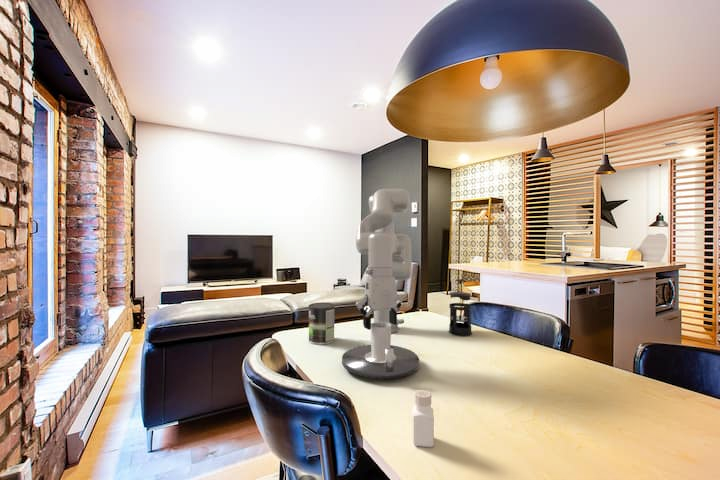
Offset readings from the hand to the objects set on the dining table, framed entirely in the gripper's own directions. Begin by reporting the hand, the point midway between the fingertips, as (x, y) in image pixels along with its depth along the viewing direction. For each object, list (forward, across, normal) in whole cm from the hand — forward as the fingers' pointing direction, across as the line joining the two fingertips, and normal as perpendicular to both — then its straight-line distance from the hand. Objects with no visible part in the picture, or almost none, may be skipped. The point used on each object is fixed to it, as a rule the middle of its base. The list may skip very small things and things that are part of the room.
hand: (380, 326), depth 100 cm
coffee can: (+14, -7, +32) cm, 35 cm away
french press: (+14, +49, +12) cm, 53 cm away
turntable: (+12, -1, -1) cm, 13 cm away
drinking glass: (+10, 0, -1) cm, 10 cm away
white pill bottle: (+12, -14, -36) cm, 40 cm away
